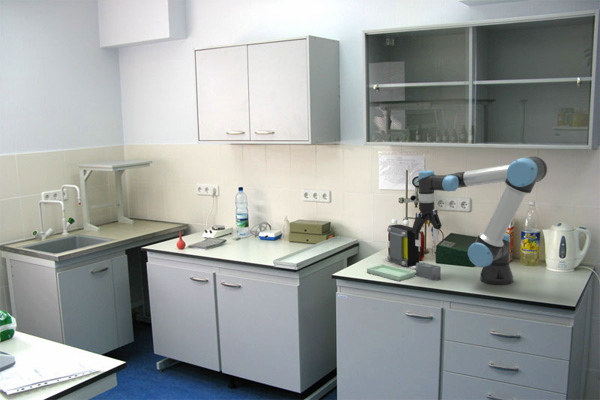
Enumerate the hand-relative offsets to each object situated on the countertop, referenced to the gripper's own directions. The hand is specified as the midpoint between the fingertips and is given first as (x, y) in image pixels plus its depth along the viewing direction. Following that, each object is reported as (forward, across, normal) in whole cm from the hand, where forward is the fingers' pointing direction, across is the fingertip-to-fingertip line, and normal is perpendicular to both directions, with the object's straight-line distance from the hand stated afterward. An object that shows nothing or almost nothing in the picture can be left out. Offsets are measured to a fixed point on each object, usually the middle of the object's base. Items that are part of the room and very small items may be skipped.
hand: (427, 243), depth 280 cm
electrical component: (+17, -11, -26) cm, 33 cm away
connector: (+17, 0, -1) cm, 17 cm away
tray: (+16, +10, -15) cm, 25 cm away
